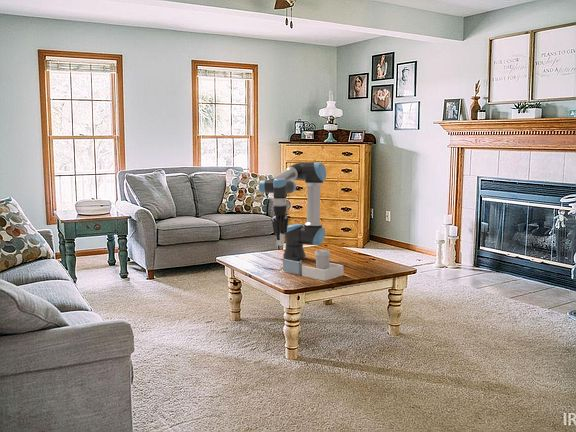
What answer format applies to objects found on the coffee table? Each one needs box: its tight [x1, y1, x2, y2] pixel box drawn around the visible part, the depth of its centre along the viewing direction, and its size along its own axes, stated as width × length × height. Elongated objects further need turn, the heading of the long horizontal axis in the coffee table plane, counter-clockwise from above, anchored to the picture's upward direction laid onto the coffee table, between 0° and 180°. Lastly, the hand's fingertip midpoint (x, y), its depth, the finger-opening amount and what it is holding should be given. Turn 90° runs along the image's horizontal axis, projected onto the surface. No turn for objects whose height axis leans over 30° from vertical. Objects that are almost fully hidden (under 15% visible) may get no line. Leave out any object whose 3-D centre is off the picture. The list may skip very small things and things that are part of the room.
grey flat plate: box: [282, 258, 300, 275], centre depth 341 cm, size 13×1×7 cm, turn 46°
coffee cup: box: [314, 248, 332, 270], centre depth 335 cm, size 10×10×15 cm
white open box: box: [299, 260, 344, 282], centre depth 336 cm, size 19×18×9 cm
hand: (280, 245), depth 334 cm, fingers closed
